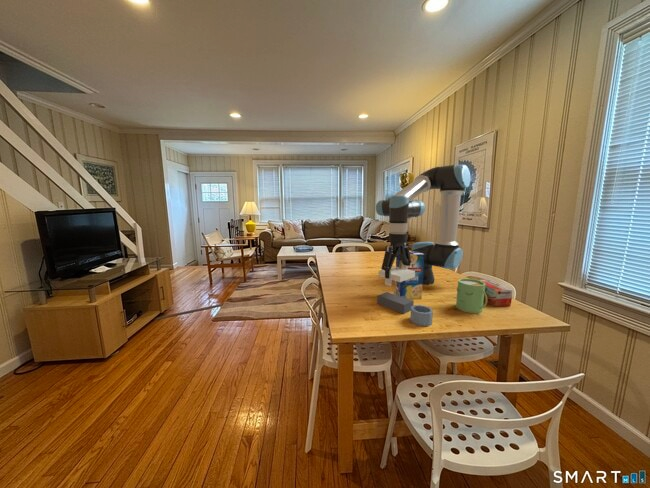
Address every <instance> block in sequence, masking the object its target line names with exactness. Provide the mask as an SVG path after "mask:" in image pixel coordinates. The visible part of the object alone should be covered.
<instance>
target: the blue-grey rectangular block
mask: <svg viewBox="0 0 650 488" xmlns="http://www.w3.org/2000/svg"><path fill="white" fill-rule="evenodd" d="M376 299H377V300H376V301H377V302H376V304H377V305H379V306H382V307H385V308H387V309H389V310H392V311H395V312H397V313H400V314H403V315H405V314H407V313H409V312H411V306H414V302H415V301H414V299H407V298H404V297H401V296H398V295H395V293H391V292H388V291H387V292H383V293H380V294H378V295H377V298H376Z"/></svg>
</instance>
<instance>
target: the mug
mask: <svg viewBox="0 0 650 488" xmlns="http://www.w3.org/2000/svg"><path fill="white" fill-rule="evenodd" d="M479 280H480V279H474V278H459V279H458V280H457V288H456V302H455V307H456V309H458V310H459V311H462V312H465V313H470V314H481V313H482V312H483V309H484V308H485V307H486V306H487V304H488V303H487V296H486V293H485V292H484V291H485V283H484V282H482V281H479ZM484 295H485V299H486V301H485V302H484V301H483V300H484Z"/></svg>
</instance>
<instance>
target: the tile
mask: <svg viewBox="0 0 650 488" xmlns="http://www.w3.org/2000/svg"><path fill="white" fill-rule="evenodd" d="M390 271H392V281H394V282H395V281H397V282H402V281H405V280H407V279H410V278H413V277H415V271H412V270H408V269H404V268H399V267H396V265H395V266H393V265H392V268H391V270H390ZM378 277H380V278H384V279H385V270H382V269H380V270H378Z"/></svg>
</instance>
